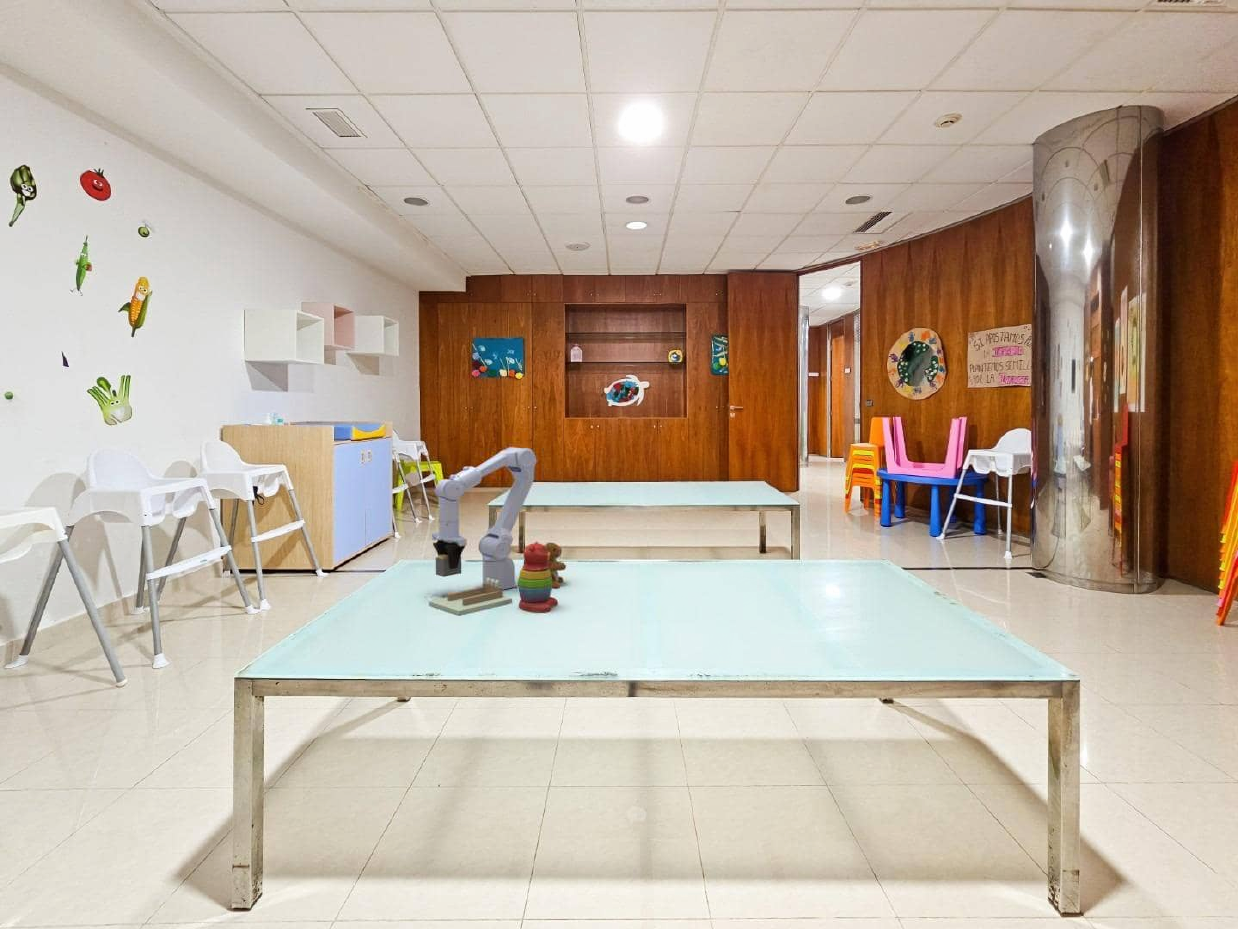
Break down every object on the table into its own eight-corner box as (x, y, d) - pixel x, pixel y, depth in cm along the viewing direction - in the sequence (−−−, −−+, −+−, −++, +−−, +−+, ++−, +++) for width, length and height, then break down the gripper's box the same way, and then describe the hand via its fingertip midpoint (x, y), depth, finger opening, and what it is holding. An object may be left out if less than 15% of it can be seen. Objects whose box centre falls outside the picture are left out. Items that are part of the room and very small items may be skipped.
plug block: (453, 571, 207) (453, 551, 206) (461, 573, 204) (461, 553, 204) (435, 574, 202) (435, 554, 202) (443, 576, 200) (443, 556, 199)
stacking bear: (548, 613, 187) (548, 547, 186) (512, 610, 189) (512, 545, 188) (559, 603, 197) (560, 540, 196) (525, 600, 199) (525, 539, 198)
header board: (481, 593, 206) (481, 574, 206) (512, 602, 197) (512, 582, 197) (428, 605, 193) (428, 584, 193) (458, 615, 184) (458, 593, 183)
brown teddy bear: (560, 589, 214) (561, 546, 213) (516, 586, 216) (516, 544, 215) (568, 581, 224) (569, 540, 223) (526, 579, 226) (526, 539, 225)
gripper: (422, 519, 204) (423, 565, 205) (451, 525, 194) (452, 573, 195) (443, 517, 209) (443, 561, 210) (472, 522, 200) (472, 569, 201)
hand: (449, 567), depth 203 cm, fingers closed on plug block, 4 cm apart
